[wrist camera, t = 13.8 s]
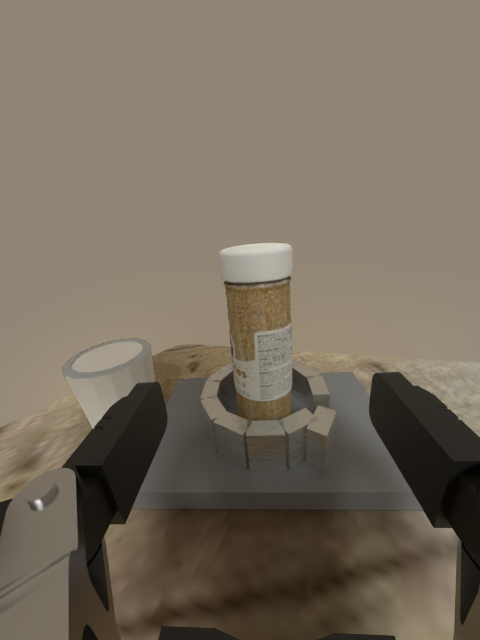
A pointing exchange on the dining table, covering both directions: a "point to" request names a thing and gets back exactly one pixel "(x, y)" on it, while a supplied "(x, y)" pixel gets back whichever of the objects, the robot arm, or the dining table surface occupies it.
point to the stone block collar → (271, 425)
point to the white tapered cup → (108, 374)
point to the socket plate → (274, 487)
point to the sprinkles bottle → (260, 327)
